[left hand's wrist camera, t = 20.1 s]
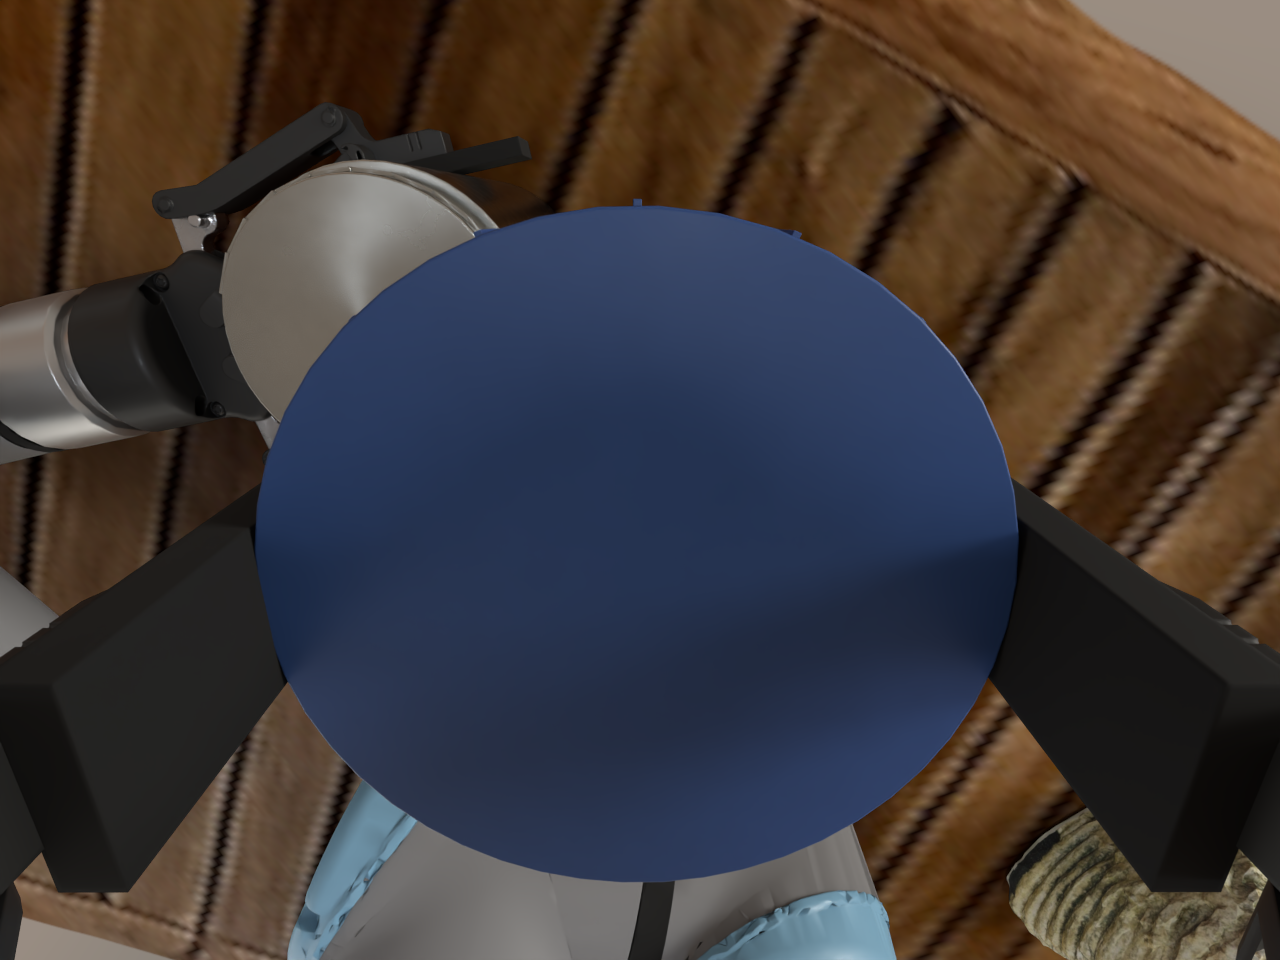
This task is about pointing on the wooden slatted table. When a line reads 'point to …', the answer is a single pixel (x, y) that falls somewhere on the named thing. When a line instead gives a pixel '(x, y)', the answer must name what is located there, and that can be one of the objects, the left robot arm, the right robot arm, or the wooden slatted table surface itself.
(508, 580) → the lid
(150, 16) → the wooden slatted table surface
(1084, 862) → the fossil
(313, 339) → the jar
